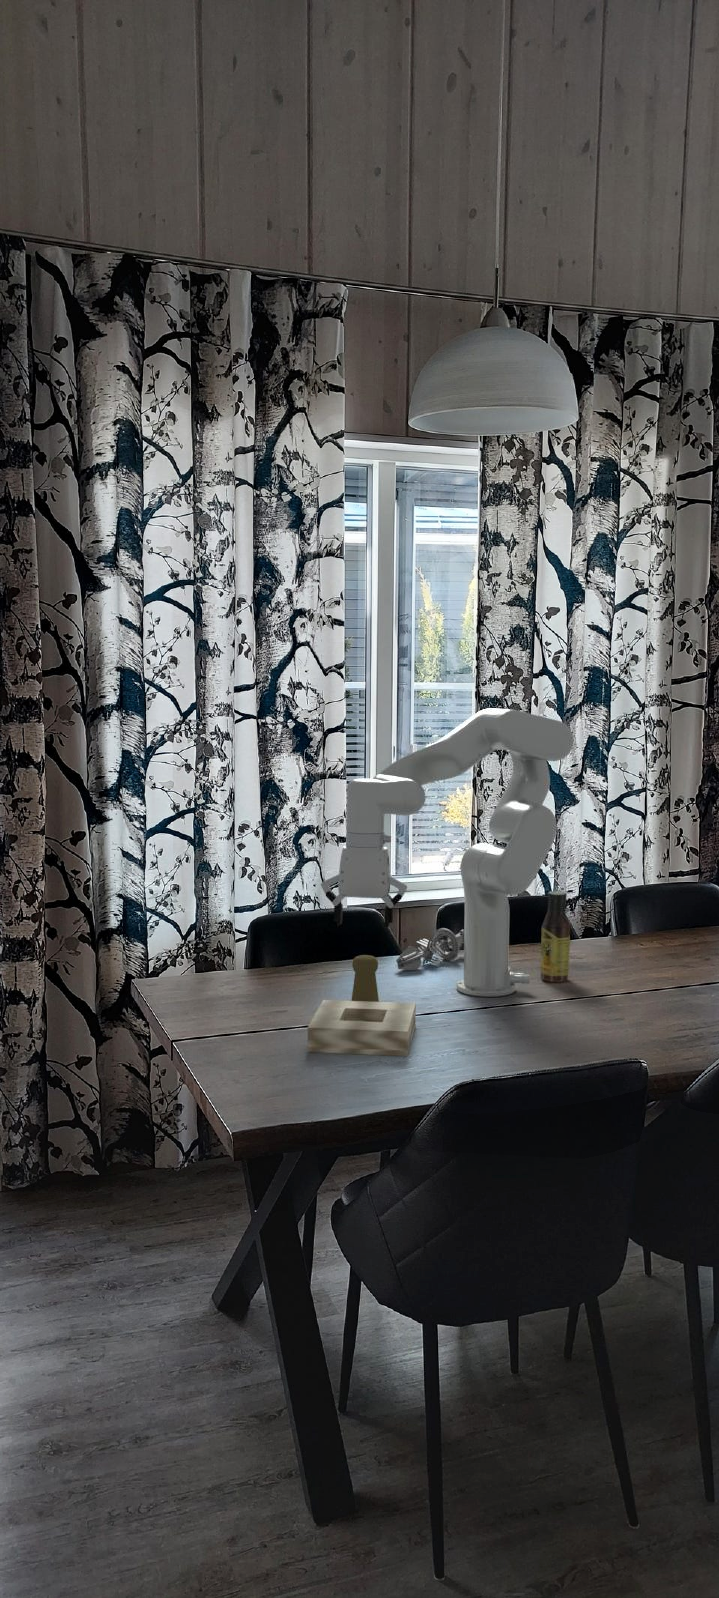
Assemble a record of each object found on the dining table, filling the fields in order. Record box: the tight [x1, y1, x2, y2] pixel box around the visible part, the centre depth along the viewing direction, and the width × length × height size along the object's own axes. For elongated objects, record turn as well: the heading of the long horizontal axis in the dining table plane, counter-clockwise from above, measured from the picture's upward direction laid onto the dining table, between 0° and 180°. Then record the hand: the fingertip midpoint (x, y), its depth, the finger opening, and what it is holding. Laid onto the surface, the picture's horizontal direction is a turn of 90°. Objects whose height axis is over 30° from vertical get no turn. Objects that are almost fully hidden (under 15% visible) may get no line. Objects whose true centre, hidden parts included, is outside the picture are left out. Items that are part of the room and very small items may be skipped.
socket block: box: [307, 999, 417, 1057], centre depth 216 cm, size 18×18×4 cm
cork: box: [350, 954, 380, 1002], centre depth 235 cm, size 6×6×11 cm
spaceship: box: [395, 927, 464, 971], centre depth 275 cm, size 8×35×8 cm
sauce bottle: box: [539, 890, 571, 983], centre depth 257 cm, size 6×6×20 cm
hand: (363, 925), depth 233 cm, fingers open, 9 cm apart
